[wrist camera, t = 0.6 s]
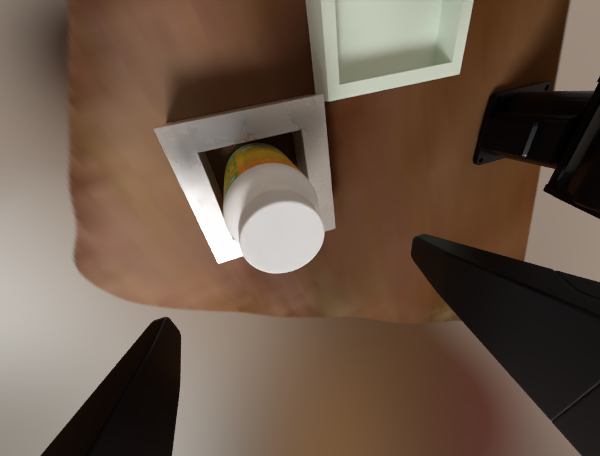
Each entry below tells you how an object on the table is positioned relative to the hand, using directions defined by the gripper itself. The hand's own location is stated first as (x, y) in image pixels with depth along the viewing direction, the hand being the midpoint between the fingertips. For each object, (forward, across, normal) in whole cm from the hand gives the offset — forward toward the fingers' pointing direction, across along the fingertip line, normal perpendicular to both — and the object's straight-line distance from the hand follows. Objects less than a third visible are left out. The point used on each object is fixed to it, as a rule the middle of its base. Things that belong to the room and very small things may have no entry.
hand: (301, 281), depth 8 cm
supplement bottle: (+13, 0, 0) cm, 13 cm away
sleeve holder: (+12, 0, 0) cm, 12 cm away
